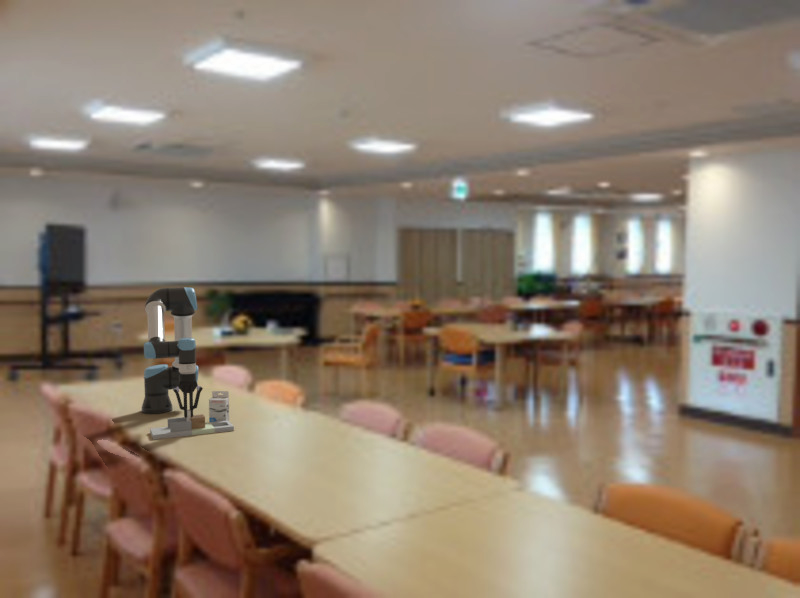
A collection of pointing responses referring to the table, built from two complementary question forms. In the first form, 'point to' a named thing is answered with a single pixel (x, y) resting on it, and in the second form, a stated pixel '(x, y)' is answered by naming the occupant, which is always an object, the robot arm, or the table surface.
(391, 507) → the table surface
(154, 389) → the robot arm
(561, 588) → the table surface
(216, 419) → the ink box
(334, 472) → the table surface
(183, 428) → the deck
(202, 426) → the block
